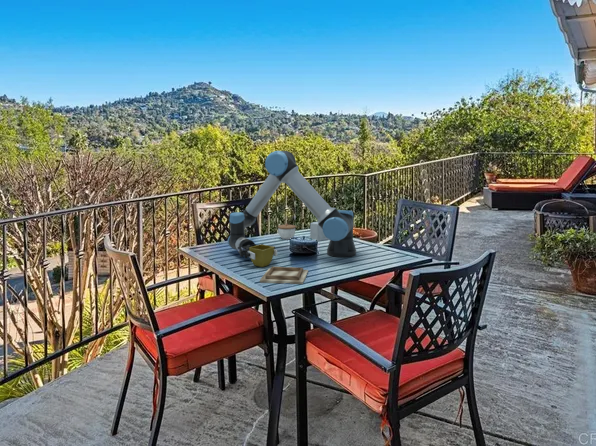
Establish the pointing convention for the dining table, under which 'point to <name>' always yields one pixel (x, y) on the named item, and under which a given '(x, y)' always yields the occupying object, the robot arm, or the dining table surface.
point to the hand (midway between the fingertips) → (265, 254)
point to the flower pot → (262, 255)
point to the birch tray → (284, 275)
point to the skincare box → (316, 232)
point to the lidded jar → (286, 231)
